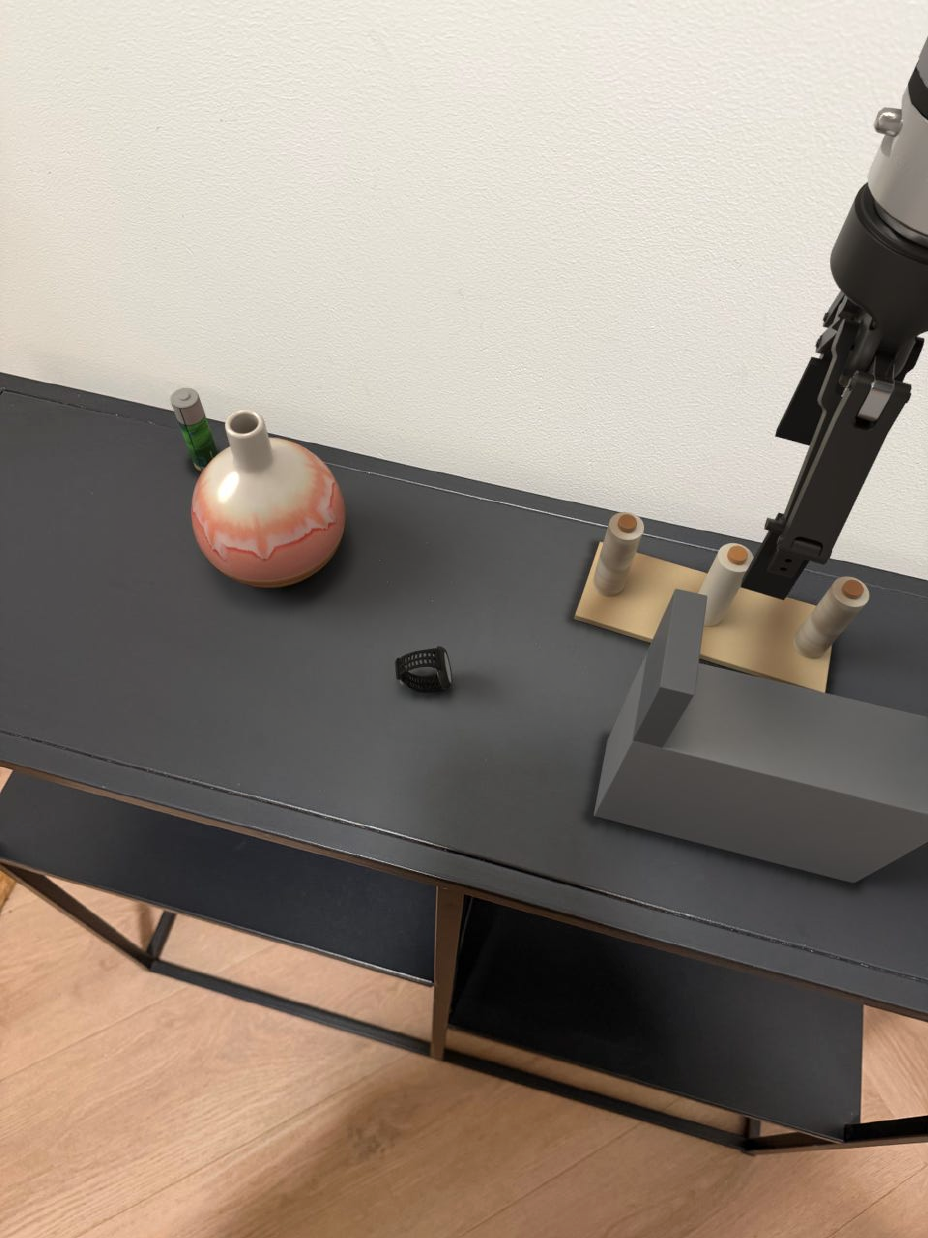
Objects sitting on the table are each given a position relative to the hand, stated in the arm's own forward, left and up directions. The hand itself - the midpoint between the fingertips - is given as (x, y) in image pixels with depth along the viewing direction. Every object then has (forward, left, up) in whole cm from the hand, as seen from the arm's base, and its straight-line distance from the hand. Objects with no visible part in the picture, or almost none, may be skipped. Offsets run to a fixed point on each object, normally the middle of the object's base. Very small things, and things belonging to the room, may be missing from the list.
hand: (779, 509), depth 55 cm
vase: (+36, +17, -24) cm, 47 cm away
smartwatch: (+16, +17, -24) cm, 34 cm away
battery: (+50, +15, -24) cm, 58 cm away
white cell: (+2, -6, -23) cm, 24 cm away
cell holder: (+2, -6, -24) cm, 24 cm away
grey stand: (-10, +8, -24) cm, 27 cm away
